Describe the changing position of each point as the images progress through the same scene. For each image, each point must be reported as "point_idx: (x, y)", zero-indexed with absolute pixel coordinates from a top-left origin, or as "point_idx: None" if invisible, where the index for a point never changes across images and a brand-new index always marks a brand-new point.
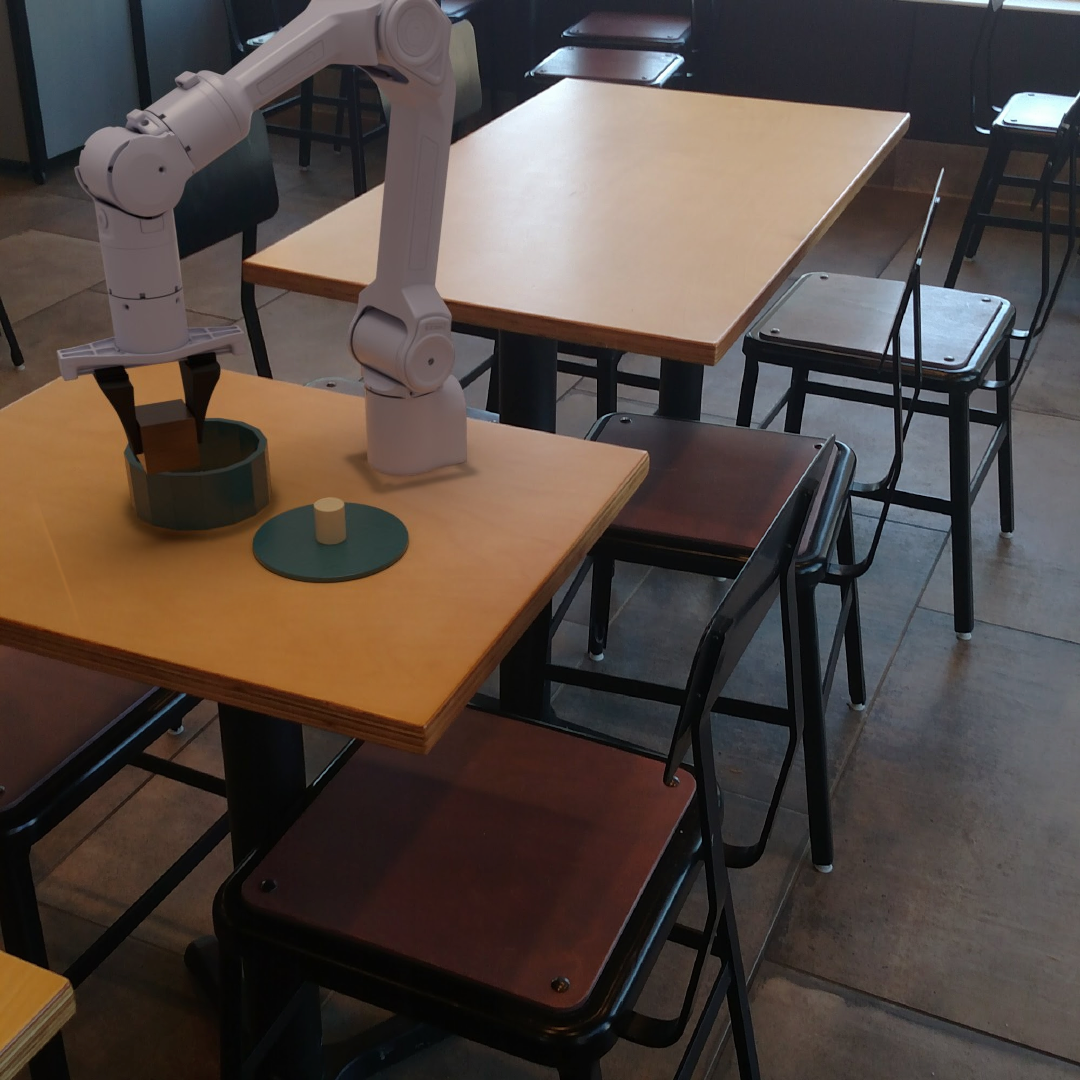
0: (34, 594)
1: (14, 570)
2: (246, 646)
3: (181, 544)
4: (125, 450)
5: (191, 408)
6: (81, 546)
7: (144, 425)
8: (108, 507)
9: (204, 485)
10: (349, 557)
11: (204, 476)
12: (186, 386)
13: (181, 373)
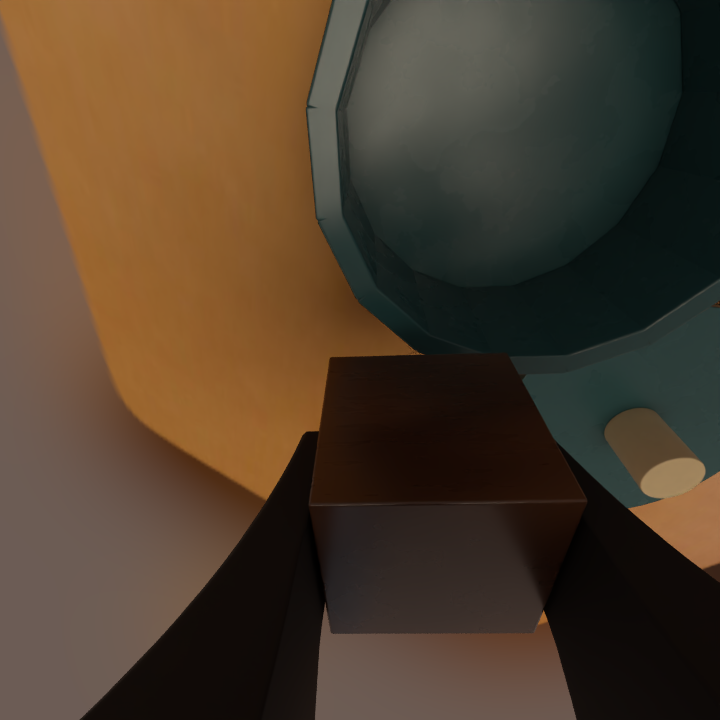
0: (146, 369)
1: (91, 283)
2: None
3: None
4: (314, 94)
5: (561, 603)
6: (209, 236)
7: (346, 632)
8: (267, 34)
9: None
10: (613, 479)
11: None
12: (623, 684)
13: (694, 700)
